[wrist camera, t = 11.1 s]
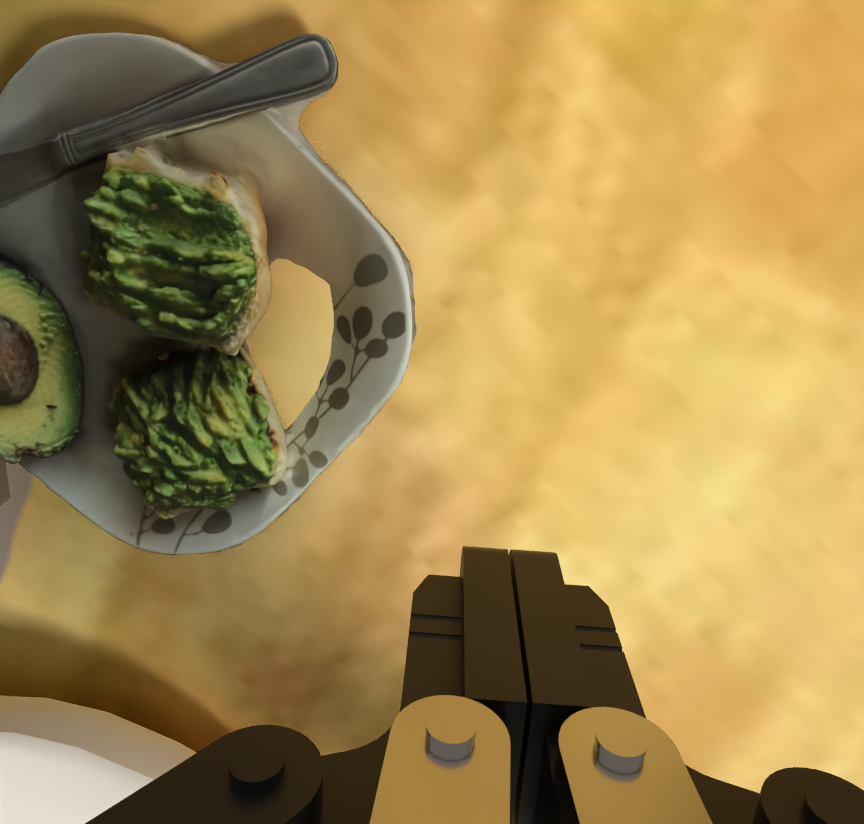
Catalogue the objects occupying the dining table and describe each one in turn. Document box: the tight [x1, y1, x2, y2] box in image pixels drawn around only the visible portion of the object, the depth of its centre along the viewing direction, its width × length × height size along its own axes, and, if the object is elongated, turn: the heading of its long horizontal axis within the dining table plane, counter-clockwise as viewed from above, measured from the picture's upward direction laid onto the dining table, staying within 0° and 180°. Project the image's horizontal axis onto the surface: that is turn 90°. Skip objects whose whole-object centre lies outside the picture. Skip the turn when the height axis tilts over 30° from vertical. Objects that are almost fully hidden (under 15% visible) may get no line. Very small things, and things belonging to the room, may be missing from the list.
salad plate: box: [0, 32, 416, 555], centre depth 25 cm, size 19×18×5 cm
